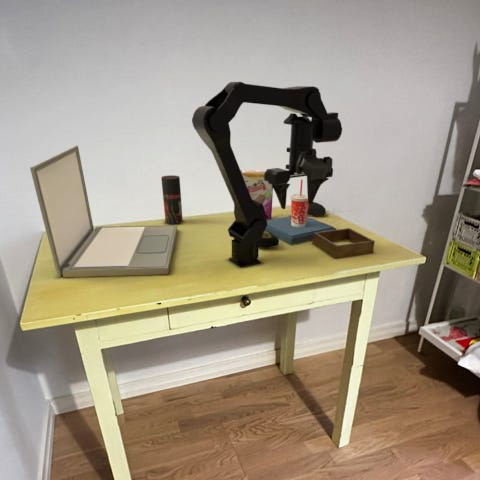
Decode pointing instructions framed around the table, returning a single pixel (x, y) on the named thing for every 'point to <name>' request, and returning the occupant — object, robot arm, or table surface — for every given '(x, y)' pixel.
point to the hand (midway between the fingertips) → (296, 206)
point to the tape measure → (268, 240)
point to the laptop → (82, 232)
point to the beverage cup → (299, 209)
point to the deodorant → (172, 199)
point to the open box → (357, 246)
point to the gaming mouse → (316, 209)
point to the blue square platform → (295, 229)
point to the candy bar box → (259, 189)
